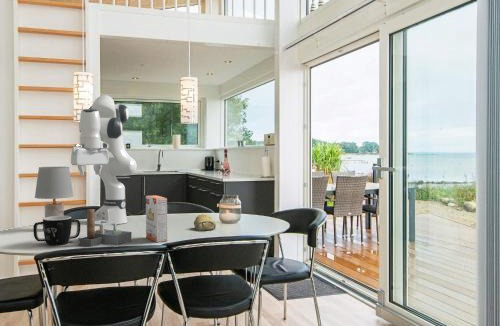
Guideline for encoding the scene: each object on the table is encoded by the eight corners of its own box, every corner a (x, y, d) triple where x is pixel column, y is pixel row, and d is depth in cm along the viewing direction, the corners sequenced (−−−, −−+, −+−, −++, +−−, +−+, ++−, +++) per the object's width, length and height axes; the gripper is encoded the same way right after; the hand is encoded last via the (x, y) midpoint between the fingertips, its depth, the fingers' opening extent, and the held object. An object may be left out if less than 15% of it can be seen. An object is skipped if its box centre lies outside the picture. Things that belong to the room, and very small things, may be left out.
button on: (112, 241, 201) (112, 231, 201) (117, 239, 204) (117, 230, 204) (118, 241, 199) (118, 232, 199) (123, 240, 203) (123, 230, 202)
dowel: (85, 244, 194) (85, 209, 194) (91, 243, 197) (90, 208, 197) (90, 245, 193) (90, 210, 193) (96, 244, 196) (96, 209, 196)
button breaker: (96, 239, 204) (96, 229, 204) (101, 237, 208) (101, 228, 208) (102, 239, 203) (102, 230, 203) (107, 238, 206) (107, 229, 206)
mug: (29, 245, 192) (29, 219, 191) (57, 239, 207) (57, 214, 206) (57, 248, 186) (57, 221, 186) (84, 241, 201) (84, 216, 201)
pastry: (201, 226, 245) (201, 212, 245) (220, 228, 239) (220, 213, 239) (187, 230, 232) (187, 215, 232) (207, 232, 227) (207, 217, 226)
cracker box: (145, 237, 211) (145, 195, 210) (156, 236, 214) (156, 195, 213) (155, 243, 199) (155, 198, 198) (167, 241, 202) (167, 197, 202)
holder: (79, 245, 193) (79, 238, 193) (90, 242, 200) (90, 235, 200) (91, 246, 191) (91, 239, 190) (102, 243, 197) (102, 237, 197)
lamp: (43, 234, 217) (43, 168, 216) (29, 229, 230) (28, 167, 229) (79, 229, 231) (79, 167, 230) (64, 225, 244) (63, 166, 243)
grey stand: (86, 240, 203) (86, 223, 202) (101, 237, 212) (101, 220, 212) (117, 244, 195) (117, 225, 195) (131, 240, 205) (131, 222, 204)
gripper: (78, 144, 183) (78, 176, 183) (111, 144, 202) (111, 174, 202) (67, 144, 185) (67, 176, 186) (100, 144, 204) (100, 173, 205)
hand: (90, 174), depth 194 cm, fingers open, 8 cm apart
